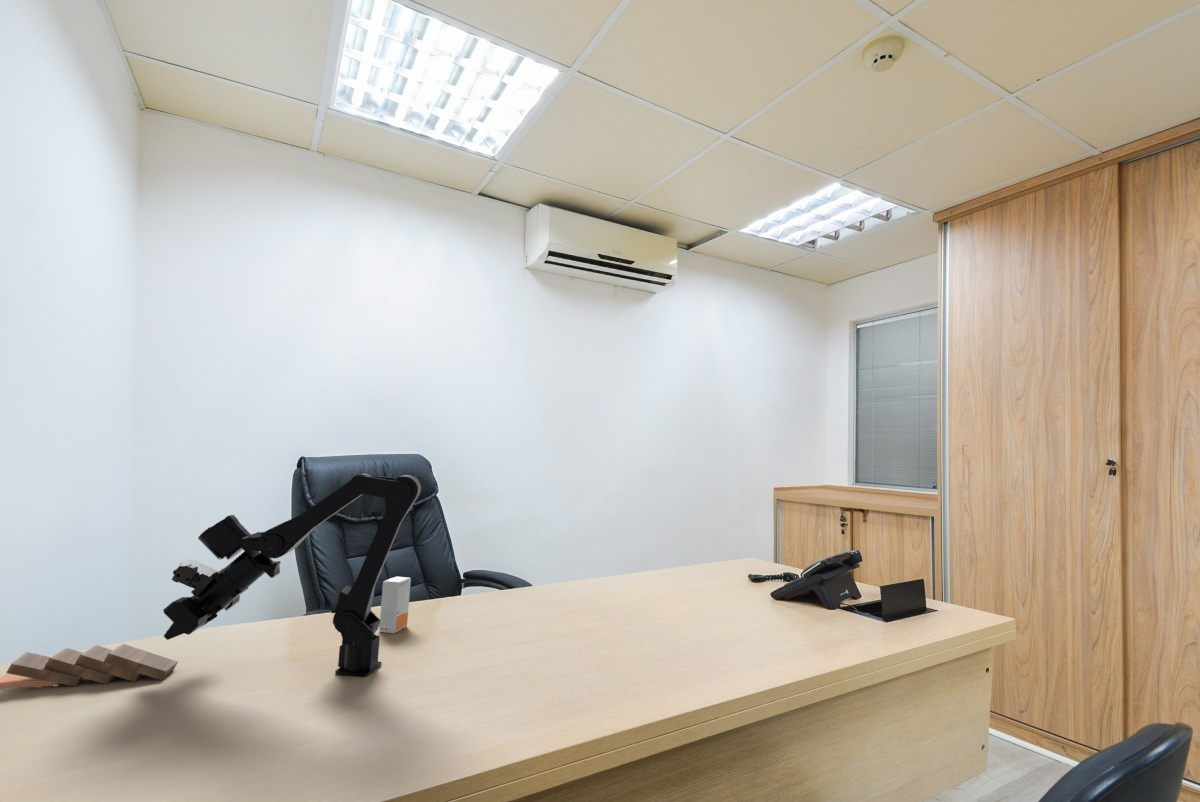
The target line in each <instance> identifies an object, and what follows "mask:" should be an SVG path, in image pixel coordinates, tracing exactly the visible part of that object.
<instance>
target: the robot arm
mask: <svg viewBox="0 0 1200 802" xmlns="http://www.w3.org/2000/svg"><path fill="white" fill-rule="evenodd" d="M421 491H422V485H421V482H420V480H419V479H417V477H415V476H414V475H411V474H406V475H401V476H399V477H390V476H380V475H378V476H377V475H372V474H369V473H360V474H356V475H354V476H352V478H351V479H350V480H349V481H348V482H346V483H344V484H343V485H342V486H340V487H339V488H338V489H336V490H334V491H333V492H332V493H330V494H329V495H327V496H325V497H324V498H322V499H321V500H320V501H318V502H317V503H316V504H314V505H313V506H311V507H310V508H308V509H307V510H306V511H304V512H302V513H301V514H299V515H297V516H294V517H293V518H291V519H288V520H286V521H284V522H281V523H279V524H277V525H276V526H274V527H271V528H269V529H267V530H265V531H257V532H254V533H252V534H251V533H250V531H248V530H247V528H245V526H244V525H243V524H241V523H240V521H239V519H238V518H237V517H236V516H235V515H234V514H229V515H227V516H226V517H225V518H223V519H222V520H220V521H218V522H217V523H215V524H214V525H212V526H209V527H208V528H207V529H205V530H203V532H202V533H200V535H199V536H198V537H197V539H198V540H199V541H200V542H201V543H202V544H203V546H204V547H206V549H208V550H209V551H210V552H211V553H212V554H213V555H214V556H215V557H216V559H218V560H223V559H225V558H226V559H227V561H229V560H231V559H232V558H234V557H235V559H233V561H231V562H230V563H228V565H226V566H225V567H224V568H222V569H220V570H219V571H217V570H215V569H214V568H212V567H210V566H208V565H206V564H204V563H202V562H200V561H197V560H193V559H188V560H186V561H184V562H181V563H180V564H179V566H178V567H177V568H176V569H174V570H173V571H172V574H173V576H172V577H171V581H173V582H174V583H179V584H182V585H185V586H186V587H189V588H192V590H191V591H190V593H191V594H192V596H190V597H189V596H182V597H180V598H178V599H176V600H173V601H172V602H170V603H169V604H168V605H167V606H166V607H165V608H164V609H163V614H164V615H165V616H166V617H167V618H168V619H169V620H170V621H172V624H171V625H170V627H169V628H168V629H167V630H166V632H165V633H164V634H163V638H164V639H166V640H167V641H169V640H171V639H174V638H176V637H178V636H181V635H184V634H186V635H188V636H189V635H191V634H193V633H194V632H196V631H197V630H198V629H200V628H201V627H203V626H205V625H206V624H208V623H209V622H211V621H213V620H214V619H216V618H217V617H218V613H219V612H221V611H223V610H225V612H227V611H229V610H230V609H231V608H233V607H234V606H235V605H237V604H238V603H239V602H240V596H241V594H243V593H245V592H246V591H247V590H248V589H249V587H250V586H251V585H253V584H254V583H255V582H256V581H257V580H259V579H260V577H262V576H263V575H264V574H266V575H267V576H268V577H269V578H271V579H272V578H275V577H276V576H277V575H280V573H281V571H280V570H281V568H280V566H281V560H278V561H277V560H276V561H275V560H273V559H278V558H281V557H283V556H285V555H287V554H288V553H290V552H292V551H294V550H295V549H296V548H297V547H298V546H299V545H300V544H301V543H302V542H304V540H305V539H306V538H307V537H308V536H309V535H310V534H311V532H313V531H314V530H315V529H316V528H317V527H318V526H320V525H321V524H322V523H324V522H325V521H327V520H328V519H330V518H331V517H333V516H334V515H336V514H337V513H338V512H340V511H341V510H342V509H344V508H346V507H347V506H348V505H350V504H351V503H353V502H354V501H355V500H357V499H359V497H361V496H363V495H367V496H368V495H369V496H373V497H377V498H378V497H379V498H383V499H385V502H384V508H383V509H384V510H383V514H382V519H381V521H380V523H379V526H378V528H377V530H376V533H375V535H374V538H373V540H372V543H371V544H370V546H369V548H368V549H369V550H368V552H367V554H366V556H365V559H364V561H363V563H362V565H361V568H360V571H359V573H358V576H357V578H356V580H355V582H354V584H353V585H352V587H351V586H350V585H346V586H345V587H344V588H343V589H342V591H340V592H339V595H338V598H337V599H338V600H337V603H336V606H335V607H334V608H333V610H332V611H331V614H334V615H333V619H332V625H333V626H334V628H335V630H336V631H338V633H340V635H341V638H342V639H341V644H340V646H339V651H338V660H337V662H338V663H337V664H338V665H337V666H338V668H336V670H335V672H334V673H335V674H336V675H347V676H359V677H367V676H368V675H370V674H371V673H373V672H374V671H375V670H377V669H378V668H380V667H381V666H382V665H383V664H382V661H379V653H380V652H379V651H380V650H379V649H380V637H381V636H380V635H377V634H376V632H378V630H379V625H380V622H381V620H380V617H379V616H377V615H376V614H375V612H373V610H372V607H373V606H372V605H373V602H374V598H375V589H376V585H377V583H378V580H379V578H380V575H381V573H382V570H383V568H384V565H385V563H386V560H387V558H388V556H389V553H390V551H391V548H392V547H393V543H394V541H395V539H396V536H397V534H398V532H399V530H400V527H401V525H402V522H403V520H404V519H405V517H406V516H407V514H408V513H409V512H410V510H411V508H412V507H413V505H414V504H415V503H416V501H417V499H418V497H420V494H421ZM242 551H243V552H242ZM241 552H242V553H241ZM240 553H241V554H240ZM238 554H239V555H238ZM237 555H238V556H237ZM236 556H237V557H236Z"/></svg>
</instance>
